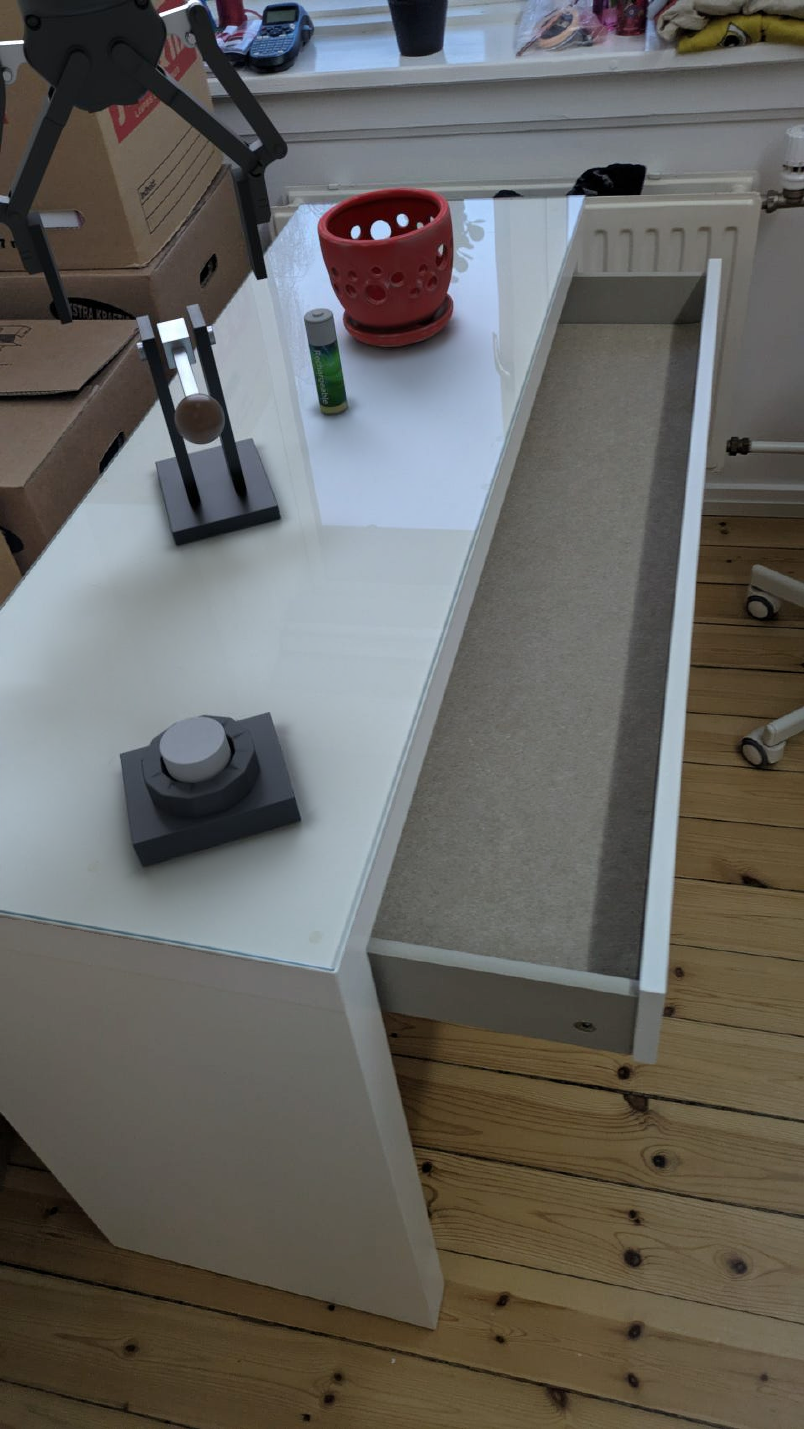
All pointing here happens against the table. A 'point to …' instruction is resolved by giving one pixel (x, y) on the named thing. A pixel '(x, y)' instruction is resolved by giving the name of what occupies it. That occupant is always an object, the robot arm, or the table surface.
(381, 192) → the flower pot
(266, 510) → the lever bracket
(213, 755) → the flush button
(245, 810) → the button housing
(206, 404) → the flush lever
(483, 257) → the table surface
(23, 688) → the table surface
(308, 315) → the battery
